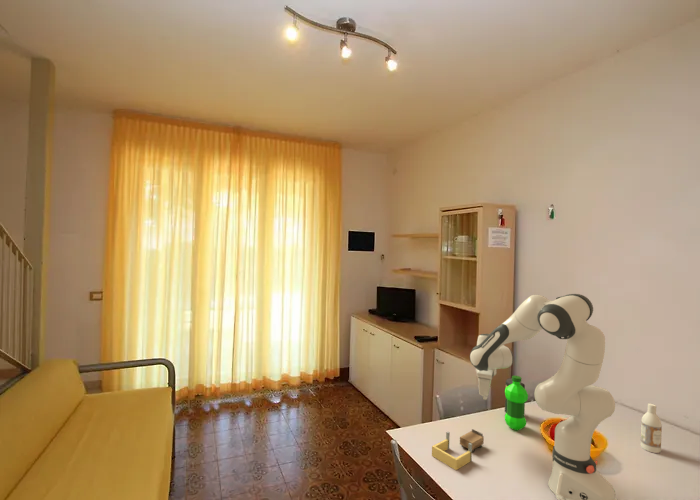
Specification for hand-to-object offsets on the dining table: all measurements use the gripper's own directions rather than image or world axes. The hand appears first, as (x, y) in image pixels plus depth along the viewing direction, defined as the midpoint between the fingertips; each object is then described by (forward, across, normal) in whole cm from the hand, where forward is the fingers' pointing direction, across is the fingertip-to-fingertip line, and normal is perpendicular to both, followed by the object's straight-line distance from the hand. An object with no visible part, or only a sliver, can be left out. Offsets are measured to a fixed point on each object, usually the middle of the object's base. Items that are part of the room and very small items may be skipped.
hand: (485, 398), depth 162 cm
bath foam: (+19, -28, +68) cm, 76 cm away
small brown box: (+19, +9, -4) cm, 21 cm away
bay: (+19, +22, -10) cm, 31 cm away
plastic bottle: (+19, -19, +13) cm, 30 cm away
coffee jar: (+19, -34, +12) cm, 41 cm away
